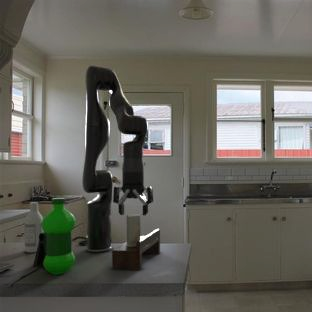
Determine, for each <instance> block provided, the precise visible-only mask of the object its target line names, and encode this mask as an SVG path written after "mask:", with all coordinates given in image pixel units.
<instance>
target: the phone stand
mask: <svg viewBox="0 0 312 312" xmlns="http://www.w3.org/2000/svg"><path fill="white" fill-rule="evenodd" d="M34 255H35V256H34V260H33V264H32V266H33V267H39V268H44V265H43V261H44V259H45V257H46V233H45V232H44V233H40V234H39V244H38V248H37V252H35V254H34Z"/></svg>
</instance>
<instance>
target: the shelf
mask: <svg viewBox="0 0 312 312" xmlns="http://www.w3.org/2000/svg"><path fill="white" fill-rule="evenodd" d="M140 239H141V240H139V241H138V242H136V247H128V246H127V241H125V242H124V243H122V244H120V245H118V246H117V247H115V248H113V249H111V269H112V270H125V271H128V270H129V271H141V270H142V268H143V265H142V264H143V263H142V254H149V255H151V254H152V255H153V254H154V255H159V254H160V253H161V229H160V228H156V229H154V230H153V231H152V232H150V233H148V234H147V235H140Z"/></svg>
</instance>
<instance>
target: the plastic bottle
mask: <svg viewBox="0 0 312 312" xmlns="http://www.w3.org/2000/svg"><path fill="white" fill-rule="evenodd" d="M65 204H66V197H52V198H51V205H53V209H51V210H50V211H49V212H48V213H47V214H46V215H45V216H44V217H43V221H42V230H43V231H44V232H45V233H46V257H45V259H44V261H43V265H44V267H43V268H44V269H45V270H46V271H47V272H48V273H50V274H52V275H62V274H66V273H67V272H68V271H70V269H71V268H73V266H74V264H75V260H76V258H75V257H76V256H75V254H74V252H73V248H72V247H73V245H72V244H73V243H72V242H73V241H72V240H73V239H72V237H73V236H72V231H73V230H74V229H75V227H76V218H75V215H74V214H73V213H72V212H70V211H69V210H68V209H66V208H65Z"/></svg>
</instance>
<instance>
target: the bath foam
mask: <svg viewBox="0 0 312 312" xmlns="http://www.w3.org/2000/svg"><path fill="white" fill-rule="evenodd" d="M43 218H44V217H43V216H42V214H41V213H40V211H39V202H37V201H32V202H30V203H29V213H28V214H27V215H26V217H25V220H24V252H25V253H36V252H37V248H38V244H39V234H40V233H44V231H43V230H42V221H43Z"/></svg>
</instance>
